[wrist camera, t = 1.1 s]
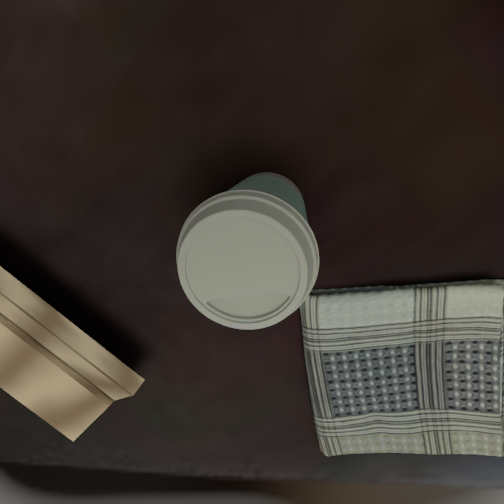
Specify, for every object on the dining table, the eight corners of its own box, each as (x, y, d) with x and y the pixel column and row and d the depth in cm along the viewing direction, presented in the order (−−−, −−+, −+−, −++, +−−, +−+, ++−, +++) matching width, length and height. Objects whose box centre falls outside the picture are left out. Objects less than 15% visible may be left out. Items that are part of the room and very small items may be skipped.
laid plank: (-82, 309, 48) (-95, 317, 46) (-51, 260, 45) (-64, 267, 43) (80, 430, 51) (72, 442, 49) (119, 391, 48) (112, 402, 46)
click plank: (-48, 253, 44) (-62, 265, 43) (-55, 223, 38) (-72, 236, 37) (124, 387, 47) (114, 401, 46) (144, 380, 41) (132, 395, 40)
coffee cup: (200, 232, 40) (149, 301, 29) (238, 135, 36) (197, 173, 25) (294, 274, 40) (280, 360, 29) (342, 182, 36) (345, 240, 25)
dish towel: (318, 446, 47) (316, 472, 44) (296, 282, 41) (293, 300, 38) (525, 446, 44) (539, 475, 41) (537, 265, 37) (554, 284, 34)
